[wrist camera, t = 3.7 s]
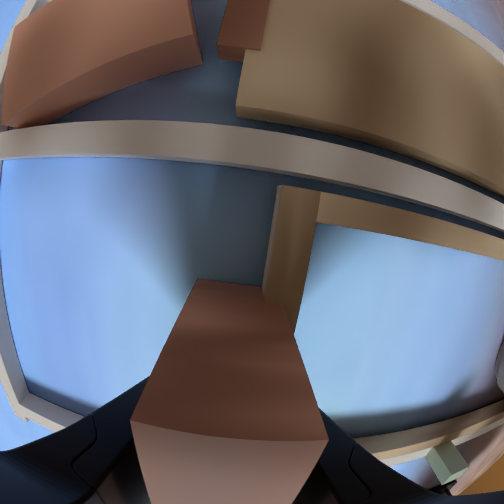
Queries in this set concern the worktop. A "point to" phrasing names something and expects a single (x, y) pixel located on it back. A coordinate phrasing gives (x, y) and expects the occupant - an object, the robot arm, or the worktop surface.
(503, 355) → the coffee cup
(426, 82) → the tan long flat piece
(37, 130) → the lane tray
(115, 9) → the reddish brown block
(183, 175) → the worktop surface
